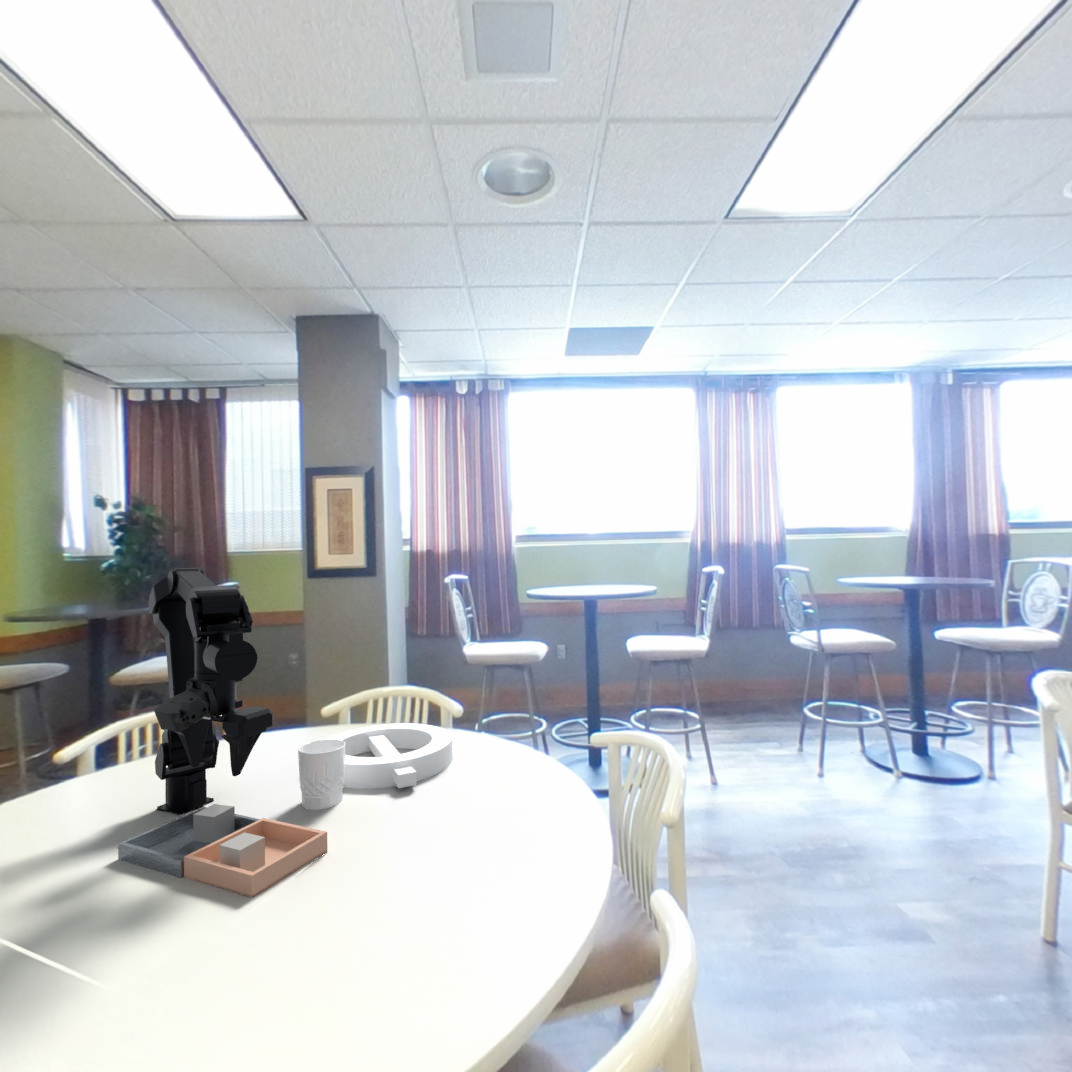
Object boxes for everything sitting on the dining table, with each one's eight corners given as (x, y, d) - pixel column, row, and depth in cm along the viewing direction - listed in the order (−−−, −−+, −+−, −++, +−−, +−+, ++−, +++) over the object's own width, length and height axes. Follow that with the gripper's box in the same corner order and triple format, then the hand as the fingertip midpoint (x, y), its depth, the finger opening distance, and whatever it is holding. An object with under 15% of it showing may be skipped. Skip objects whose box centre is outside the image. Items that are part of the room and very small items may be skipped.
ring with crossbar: (366, 740, 144) (366, 720, 144) (473, 748, 135) (473, 727, 135) (283, 782, 117) (283, 757, 117) (410, 797, 108) (409, 770, 108)
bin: (118, 861, 86) (118, 843, 86) (204, 822, 99) (204, 806, 99) (180, 880, 81) (180, 861, 81) (264, 836, 93) (263, 820, 93)
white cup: (330, 814, 101) (330, 754, 101) (289, 811, 102) (288, 752, 103) (354, 795, 109) (353, 740, 109) (314, 793, 110) (314, 738, 110)
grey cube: (193, 841, 92) (193, 814, 92) (214, 829, 95) (214, 803, 95) (214, 843, 90) (214, 817, 91) (234, 832, 94) (234, 806, 94)
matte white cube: (219, 875, 81) (219, 845, 81) (244, 861, 85) (244, 832, 85) (240, 881, 79) (240, 850, 79) (265, 866, 83) (264, 837, 83)
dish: (183, 879, 81) (183, 856, 81) (263, 837, 93) (263, 817, 93) (252, 899, 76) (252, 875, 76) (327, 852, 87) (327, 831, 88)
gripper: (124, 675, 89) (123, 780, 89) (209, 686, 82) (209, 801, 81) (193, 661, 99) (193, 756, 99) (275, 671, 92) (275, 773, 92)
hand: (215, 770), depth 93 cm, fingers open, 9 cm apart
